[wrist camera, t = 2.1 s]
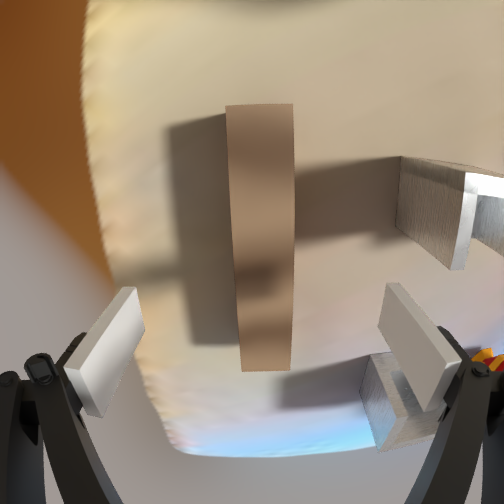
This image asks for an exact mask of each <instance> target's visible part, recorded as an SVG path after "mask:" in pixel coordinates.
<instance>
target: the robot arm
mask: <svg viewBox="0 0 504 504" xmlns="http://www.w3.org/2000/svg"><path fill="white" fill-rule="evenodd" d="M378 328H379V330H380V331H381V333H382V335H383V337H384V338H385V340H386V342H387V344H388V345H389V347H390V349H391V351H392V353H393V354H394V356H395V358H396V360H397V362H398V364H399V365H400V367H401V369H402V371H403V373H404V375H405V377H406V379H407V380H408V382H409V384H410V386H411V388H412V390H413V392H414V394H415V396H416V398H417V400H418V402H419V404H420V406H421V408H422V410H423V412H427V411H431V410H434V409H438V408H439V406H440V404H441V402H442V400H443V399H444V401H445V402H446V404H447V406H446V407H445V409H444V411H443V413H442V414H441V416H440V418H439V419H438V422H440V423H439V426H438V429H437V432H436V434H435V437H434V440H433V443H432V445H431V447H430V450H429V453H428V455H427V457H426V460H425V462H424V464H423V466H422V469H421V471H420V473H419V475H418V478H417V479H416V482H415V484H414V486H413V488H412V490H411V492H410V494H409V496H408V498H407V499H406V501H405V503H404V504H464V503H465V500H466V497H467V494H468V491H469V488H470V485H471V482H472V478H473V475H474V472H475V468H476V464H477V461H478V457H479V452H480V448H481V444H482V442H483V482H482V498H481V504H504V369H503V371H491V369H490V368H489V367H488V366H487V365H486V364H484V363H482V362H478V361H472V360H471V359H470V357H469V356H468V355H467V353H466V352H465V351H464V350H463V348H462V347H461V346H460V345H458V342H457V341H456V340H455V339H454V337H453V336H452V335H451V334H450V332H449V331H447V330H446V329H444V328H443V327H441V326H437V327H436V326H435V325H434V323H433V322H432V321H431V320H430V319H429V317H428V316H427V315H426V314H425V312H424V311H423V310H422V309H421V308H420V306H419V305H418V304H417V303H416V302H415V301H414V299H413V298H412V297H411V296H410V295H409V294H408V292H407V291H406V290H405V289H404V288H403V287H402V286H401V284H400V283H387V284H386V289H385V295H384V300H383V305H382V310H381V314H380V319H379V324H378ZM144 332H145V327H144V322H143V318H142V313H141V309H140V304H139V299H138V294H137V289H136V287H122V289H121V290H120V291H119V293H118V294H117V295H116V296H115V298H114V299H113V300H112V302H111V303H110V304H109V305H108V307H107V308H106V309H105V310H104V312H103V313H102V314H101V316H100V317H99V318H98V320H97V321H96V322H95V324H94V325H93V326H92V328H91V329H90V330H89V332H88V333H85V332H84V333H81V334H80V335H78V336H77V337H75V338H74V340H73V341H72V342H71V344H70V346H68V348H67V349H66V351H65V352H64V353H63V354H62V356H61V357H60V358H59V360H58V361H57V363H56V364H54V362H53V360H52V358H51V356H50V355H48V354H46V353H39V354H35V355H33V356H31V357H30V358H29V359H27V361H26V362H25V364H24V369H25V371H26V372H27V375H28V377H29V378H30V380H21V379H20V378H19V376H18V374H17V373H16V372H14V371H7V372H4V373H2V374H1V375H0V504H46V498H45V486H44V462H43V440H44V443H45V447H46V451H47V454H48V458H49V461H50V465H51V468H52V471H53V474H54V477H55V480H56V482H57V486H58V488H59V491H60V494H61V496H62V499H63V502H64V504H123V502H122V501H121V499H120V497H119V495H118V494H117V492H116V490H115V488H114V486H113V484H112V482H111V480H110V478H109V477H108V475H107V473H106V471H105V469H104V467H103V465H102V463H101V461H100V458H99V456H98V454H97V452H96V450H95V447H94V445H93V443H92V440H91V438H90V436H89V433H88V431H87V428H86V426H85V423H84V421H83V418H82V416H81V414H80V413H79V412H80V410H81V408H82V406H83V407H84V409H85V411H86V413H87V415H91V416H95V417H99V418H103V417H104V414H105V412H106V410H107V408H108V406H109V403H110V401H111V399H112V397H113V395H114V393H115V391H116V388H117V386H118V384H119V382H120V380H121V378H122V375H123V374H124V372H125V369H126V368H127V366H128V364H129V362H130V359H131V357H132V355H133V353H134V351H135V349H136V347H137V345H138V343H139V342H140V340H141V338H142V336H143V334H144Z"/></svg>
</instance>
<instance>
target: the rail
mask: <svg viewBox="0 0 504 504" xmlns="http://www.w3.org/2000/svg"><path fill="white" fill-rule="evenodd" d="M225 107H226V131H227V152H228V173H229V192H230V209H231V227H232V243H233V259H234V274H235V289H236V303H237V317H238V330H239V343H240V356H241V369H242V372H250V371H286V370H290V361H291V341H292V318H293V287H294V232H295V178H294V124H293V104H254V105H232V106H225Z"/></svg>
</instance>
